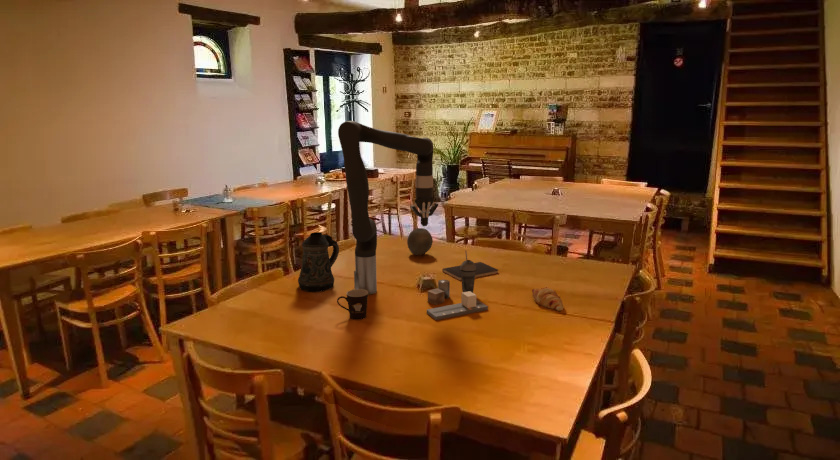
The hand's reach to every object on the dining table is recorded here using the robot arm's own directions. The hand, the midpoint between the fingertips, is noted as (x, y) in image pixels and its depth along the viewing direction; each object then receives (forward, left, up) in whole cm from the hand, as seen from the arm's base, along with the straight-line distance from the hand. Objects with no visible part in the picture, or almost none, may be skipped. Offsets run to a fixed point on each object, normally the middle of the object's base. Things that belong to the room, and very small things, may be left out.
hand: (424, 225), depth 226 cm
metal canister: (+6, -7, -31) cm, 32 cm away
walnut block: (0, -11, -31) cm, 33 cm away
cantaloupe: (+25, +55, -31) cm, 68 cm away
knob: (+8, -24, -29) cm, 39 cm away
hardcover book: (+34, +17, -32) cm, 50 cm away
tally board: (+3, -24, -31) cm, 39 cm away
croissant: (+41, -33, -31) cm, 61 cm away
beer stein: (-39, +32, -31) cm, 59 cm away
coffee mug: (-36, -10, -31) cm, 49 cm away
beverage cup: (+17, -9, -31) cm, 37 cm away
